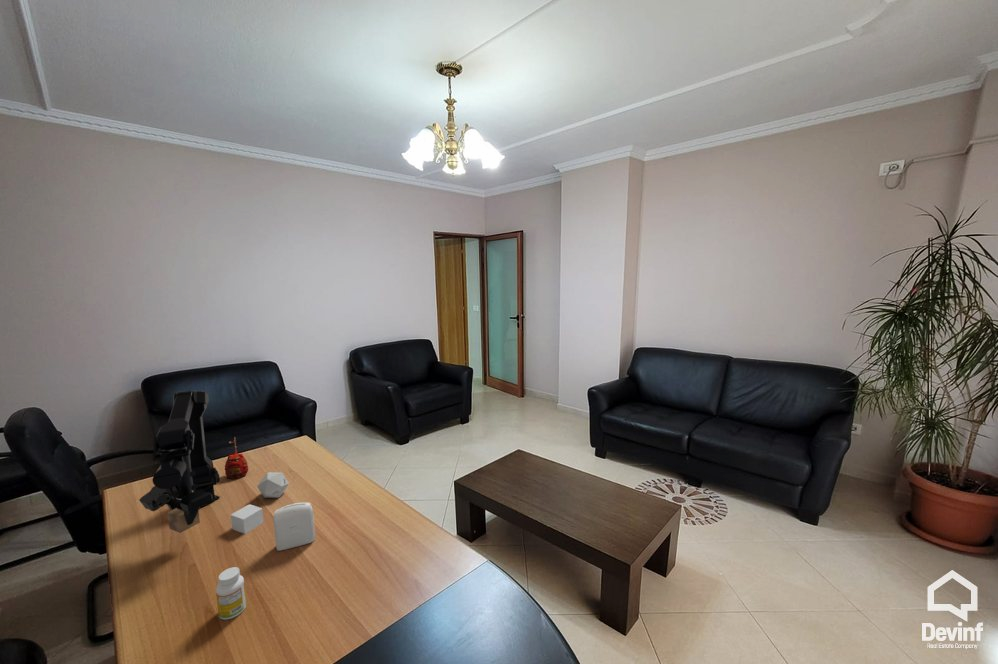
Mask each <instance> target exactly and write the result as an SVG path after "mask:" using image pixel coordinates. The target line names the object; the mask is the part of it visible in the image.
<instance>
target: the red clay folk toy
mask: <svg viewBox="0 0 998 664" xmlns="http://www.w3.org/2000/svg"><path fill="white" fill-rule="evenodd" d="M233 438H234V439H233V441H228V444H229V445H230V444H234V454H229V455H228V456H227V459H226V461H225V465H224V471H225V473H224V475H225V476H226V478H227V480H229V479H231V480H232V479H240V478H244V477H246V476H247V473H248V472H249V464H248V462H247V459H246V457H245V456H244V455H243V453H238V451H237V448H238V447H237V446H236V445H237V440H236V437H235V436H234V437H233Z"/></svg>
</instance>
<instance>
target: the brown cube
mask: <svg viewBox="0 0 998 664" xmlns="http://www.w3.org/2000/svg"><path fill="white" fill-rule="evenodd" d="M167 518H168V520H167V521H168V526H169V530H172V531H174V532H177V533H179V534H182V533H183V532H185V531H187V530H189V529H191V528H192V527H195V526H196V525H198V524H200V523H201V521H200V519H201V518H200V512H199V510H198V513H197V515H196V517H195V519H194V521H193V523H192V524H190V525H188V524H187V522H186V519H185V516H184V512H183V511H182V510H179V509H177V508H176V509H173V510H170V511H167Z"/></svg>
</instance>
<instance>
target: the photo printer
mask: <svg viewBox="0 0 998 664" xmlns="http://www.w3.org/2000/svg"><path fill="white" fill-rule="evenodd" d="M313 509H314V508H313V507H312V504H311V502H296V503H290V504H288V505H284V506H282V507H279V508H278V509H276V510H274V514H273V529H274V539H275V541H274V542H275V549H276V551H278V552H279V551H280V552H281V551H284V550H285V551H286V550H288V549H292V548H297V547H300V546H304V545H307V544H310V543H314V541H315V540H316V530H315V520H314V510H313Z"/></svg>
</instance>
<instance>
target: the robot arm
mask: <svg viewBox="0 0 998 664" xmlns="http://www.w3.org/2000/svg"><path fill="white" fill-rule="evenodd" d="M172 397H173V398H172V400H173V401H172V403H173V404H172V407H171V408H172V409H171V412H170V415H169V419H168V421H167V422H166V423H165V424H163V425H162V426H160V427H159V430H158V432H157V434H156V435H154V441H153V452H152V461H153V462H157V461H160V465H159V467H158V468H157V470H156V472H155V473H154V475H153V476H152V483H153V487H152V488H151V489H150V490H149V491H148V492H147V493H145V494H144V495H142V496H141V497H140V498H139V499H138V500H139V502H140V503H141V504H142V506H143V507H144V508H145V509H146V510H149V511H151V512H155V511H157V510H159V509H160V508H162V507H164V506H167V507H168V509H169V510H170V511H171V510H173V509H176V508H177V509H179V510H182V511H183V512H184V516H185V519H186V522H187V524H188V525H190V524H192V523H193V521H194V519H195V517H196V515H197V513H198V511H199V510H200V508H203V507H205V506H206V505H209V504H211V503H213V502H215V501H216V500H218V499H220V498H221V497H220V496H219V495H216V494H215V488H214V486H216V485H217V484H218V483H219V482H220V481H221V479H220V474H219V471H218V470H217V468H216V467H214V462H213V460H212V459H210V457H208V456H207V450H206V449H207V447H206V440H205V430H204V420H203V415H204V413H205V411H206V409H207V407H208V404H209V402H210V401H209V400H210V398H209V393H207V392H206V391H204V390H197V391H196V390H193V389H192V390H183V391H177V392H175V393H174V394H173V396H172Z"/></svg>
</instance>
